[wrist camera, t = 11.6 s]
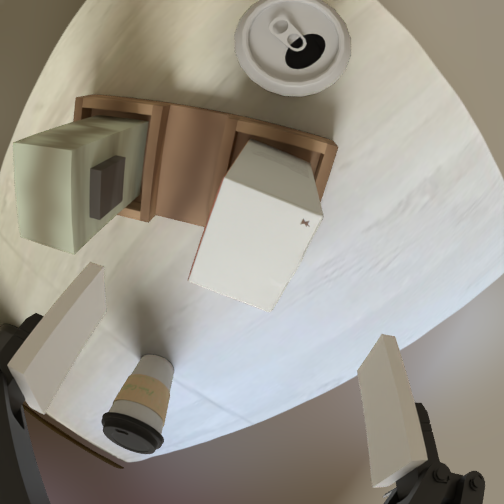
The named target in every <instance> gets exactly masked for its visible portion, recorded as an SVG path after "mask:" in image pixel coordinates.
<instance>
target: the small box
mask: <svg viewBox="0 0 504 504" xmlns="http://www.w3.org/2000/svg"><path fill="white" fill-rule="evenodd" d="M322 219H323V212H322V208H321V204H320V200H319V196H318V192H317V188H316V184H315V180H314V176H313V172H312V168H311V164H310V163H309V162H307V161H304V160H302V159H300V158H297V157H295V156H293V155H290V154H288V153H286V152H283V151H281V150H278V149H276V148H273V147H271V146H269V145H266V144H264V143H261V142H259V141H256V140H254V139H251V138H250V139H249V140H248V142H247V143H246V144H245V146H244V148H243V149H242V151H241V152H240V153H239V155H238V156H237V158H236V159H235V161H234V162H233V164H232V166H231V167H230V168H229V170H228V171H227V173H226V174H225V175H224V177H223V179H222V181H221V183H220V186H219V189H218V191H217V194H216V197H215V200H214V203H213V205H212V208H211V211H210V214H209V217H208V220H207V223H206V226H205V229H204V231H203V234H202V237H201V240H200V243H199V246H198V249H197V253H196V256H195V259H194V262H193V264H192V268H191V271H190V274H189V278H188V281H189V282H191V283H194V284H196V285H199V286H201V287H204V288H206V289H209V290H212V291H214V292H217V293H219V294H222V295H225V296H227V297H230V298H233V299H235V300H238V301H241V302H243V303H246V304H248V305H251V306H254V307H256V308H259V309H261V310H264V311H266V312H271V311H272V310H273V308H274V307H275V305H276V304H277V302H278V300H279V298H280V297H281V295H282V293H283V292H284V290H285V288H286V286H287V285H288V283H289V281H290V280H291V278H292V277H293V275H294V273H295V272H296V270H297V268H298V267H299V265H300V263H301V261H302V259H303V257H304V254H305V252H306V250H307V248H308V246H309V244H310V242H311V240H312V238H313V237H314V235H315V233H316V231H317V229H318V227H319V225H320V223H321V221H322Z"/></svg>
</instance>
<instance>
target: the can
mask: <svg viewBox="0 0 504 504" xmlns="http://www.w3.org/2000/svg"><path fill="white" fill-rule="evenodd" d="M235 53H236V56H237V58H238V61H239V64H240V66H241V68H242V69H243V70H244V71H245V73H246V74H247V75H248V76H249V78H250V79H251V80H252V81H254V82H255V83H257V84H258V85H260V86H261V87H262V88H264V89H265V90H267V91H271V92H274V93H277V94H280V95H283V96H300V97H302V96H306V95H310V94H315V93H319V92H321V91H323V90H324V89H326V88H327V87H329V86H331V85H333V84H334V83H335V82H336V81H337V80H338V79H339V77H340V76H341V75H342V74H343V73H344V71H345V70H346V67H347V65H348V62H349V59H350V57H351V37H350V35H349V32H348V29H347V26H346V23H345V22H344V21H343V19H342V18H341V17H340V15H339V14H338V13H337V12H336V10H335V9H334V8H332V7H331V6H329V5H328V4H326V3H325V2H323V1H322V0H260V1H258V2H256V3H255V4H253V5H252V6H250V8H249V9H248V10H247V11H246V12H245V14H244V15H243V16H242V17H241V18H240V21H239V23H238V26H237V29H236V32H235Z"/></svg>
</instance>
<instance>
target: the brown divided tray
mask: <svg viewBox="0 0 504 504" xmlns="http://www.w3.org/2000/svg"><path fill="white" fill-rule="evenodd" d="M250 138H251V139H254V140H256V141H259V142H261V143H264V144H266V145H269V146H271V147H273V148H276V149H278V150H281V151H283V152H286V153H288V154H290V155H293V156H295V157H297V158H300V159H302V160H304V161H307V162H309V163H310V164H311V168H312V172H313V176H314V180H315V184H316V188H317V192H318V196H319V200H320V202H321V199H322V196H323V193H324V190H325V187H326V184H327V181H328V178H329V175H330V172H331V168H332V165H333V162H334V159H335V156H336V153H337V150H338V146H337V145H336V144H335V142H334V141H333V140H330V139H327V138H323V137H320V136H317V135H313V134H310V133H306V132H303V131H299V130H296V129H292V128H288V127H284V126H281V125H277V124H273V123H269V122H265V121H261V120H256V119H252V118H248V117H243V116H239V115H234V114H229V113H224V112H219V111H214V110H209V109H204V108H198V107H192V106H186V105H180V104H174V103H167V102H160V101H153V100H145V99H137V98H128V97H118V96H107V95H87V96H81V97H76V100H75V110H74V121H73V122H72V123H68V124H65V125H62V126H59V127H56V128H53V129H49V130H46V131H44V132H41V133H38V134H35V135H32V136H29V137H27V138H24V139H21V140H19V141H16V142H13V162H14V182H15V196H16V206H17V215H18V224H19V231H20V237H22V238H25V239H28V240H31V241H34V242H37V243H40V244H43V245H46V246H49V247H52V248H55V249H58V250H61V251H64V252H67V253H70V254H73V255H75V254H76V253H77V252H78V251H79V250H80V249H81V248H82V247H83V246H84V245H85V244H86V243H87V242H88V241H89V240H90V239H91V238H92V237H93V236H94V235H95V234H96V233H97V232H99V231H100V230H101V229H102V228H103V227H104V226H105V225H106V224H107V223H108V222H109V221H110V220H112V219H113V218H114V217H115V216H116V215H120V216H124V217H128V218H132V219H136V220H140V221H144V222H148V223H149V221H150V220H151V219H152V218H153V217H154V216H155V215H158V216H162V217H166V218H170V219H174V220H178V221H182V222H186V223H191V224H195V225H199V226H203V227H205V226H206V223H207V220H208V217H209V214H210V211H211V208H212V205H213V203H214V200H215V197H216V194H217V191H218V189H219V186H220V183H221V181H222V179H223V177H224V175H225V174H226V173H227V171H228V170H229V168H230V167H231V166H232V164H233V162H234V161H235V159H236V158H237V156H238V155H239V153H240V152H241V151H242V149H243V148H244V146H245V144H246V143H247V142H248V140H249V139H250Z"/></svg>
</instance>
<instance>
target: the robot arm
mask: <svg viewBox="0 0 504 504" xmlns="http://www.w3.org/2000/svg"><path fill="white" fill-rule="evenodd" d="M106 312H107V306H106V293H105V276H104V266H101V265H97V264H94V263H91V262H90V263H89V264H88V265H87V266H86V267H85V269H84V270H83V271H82V272H81V273H80V274H79V275H78V276H77V278H76V279H75V280H74V281H73V282H72V283H71V284H70V286H69V287H68V288H67V289H66V290H65V291H64V293H63V294H62V295H61V296H60V297H59V299H58V300H57V301H56V302H55V303H54V305H53V306H52V307H51V308H50V309H49V311H48V312H47V313H46V314H45V316H42V315H39V314H37V313H35V314H33V315H32V316H30V317H28V318H27V319H26V320H25V321H24V322H23V323H22V324H21V326H20V327H19V329H18V328H16V327H14V326H12V325H9V324H3V325H2V326H1V327H0V504H50V501H49V498H48V496H47V493H46V490H45V487H44V484H43V481H42V478H41V475H40V472H39V469H38V466H37V462H36V459H35V456H34V452H33V448H32V445H31V441H30V437H29V433H28V429H27V424H26V419H25V415H24V409H23V407H22V404H23V402H24V401H25V400H26V401H27V403H28V405H29V407H31V408H33V409H35V410H37V411H38V412H40V413H42V414H45V413H46V411H47V409H48V407H49V405H50V404H51V402H52V400H53V398H54V396H55V395H56V393H57V391H58V389H59V388H60V386H61V384H62V382H63V381H64V379H65V377H66V376H67V374H68V372H69V371H70V369H71V367H72V365H73V364H74V362H75V361H76V359H77V357H78V356H79V354H80V352H81V351H82V349H83V347H84V346H85V344H86V343H87V341H88V339H89V338H90V336H91V335H92V333H93V332H94V330H95V328H96V327H97V325H98V324H99V322H100V321H101V319H102V318H103V316H104V315H105V313H106ZM357 372H358V378H359V384H360V391H361V397H362V404H363V411H364V418H365V426H366V432H367V441H368V450H369V459H370V469H371V479H372V487H388V486H389V485H391V484H392V483H394V482H396V486H397V487H396V488H394V489H393V490H391V491H389V492H388V493H386V494H385V495H384V496H383V497H384V498H385V497H387V496H389V497H388V498H387V500H386V501H385V502H384V504H482V503H483V496H484V490H485V481H484V478H483V476H482V475H481V474H480V473H479V472H477V471H471V472H469V473H467V474H466V475H464V476H463V475H459V474H455V473H451V472H450V470H449V468H448V467H447V466H446V465H445V464H443V463H441V462H440V461H439V457H438V453H437V448H436V444H435V440H434V436H433V432H432V428H431V424H430V420H429V416H428V413H427V411H426V410H425V408H424V406H423V405H422V403H415V402H414V399H413V395H412V391H411V388H410V384H409V381H408V377H407V374H406V370H405V367H404V364H403V360H402V357H401V354H400V351H399V347H398V344H397V341H396V338H395V336H389V335H384V334H381V336H380V338H379V339H378V341H377V342H376V344H375V345H374V347H373V348H372V350H371V351H370V353H369V354H368V356H367V357H366V359H365V360H364V362H363V363H362V365H361V366H360V368H359V369H358V370H357Z"/></svg>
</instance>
